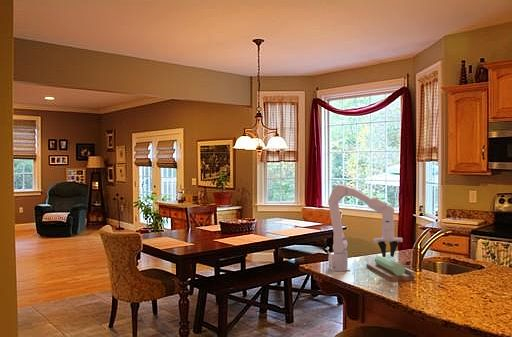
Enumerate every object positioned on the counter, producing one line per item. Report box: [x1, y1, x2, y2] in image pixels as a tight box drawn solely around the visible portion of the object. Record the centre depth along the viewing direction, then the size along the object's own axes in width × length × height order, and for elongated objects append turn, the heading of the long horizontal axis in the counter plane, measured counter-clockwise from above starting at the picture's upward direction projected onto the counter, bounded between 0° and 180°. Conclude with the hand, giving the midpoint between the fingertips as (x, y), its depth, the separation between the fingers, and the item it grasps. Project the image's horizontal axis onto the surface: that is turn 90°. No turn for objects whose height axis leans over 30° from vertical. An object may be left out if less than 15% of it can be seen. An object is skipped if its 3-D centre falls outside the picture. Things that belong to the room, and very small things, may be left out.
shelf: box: [366, 262, 415, 282], centre depth 223 cm, size 12×28×4 cm, turn 9°
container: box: [374, 255, 405, 276], centre depth 223 cm, size 6×6×25 cm
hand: (388, 256), depth 223 cm, fingers open, 4 cm apart
